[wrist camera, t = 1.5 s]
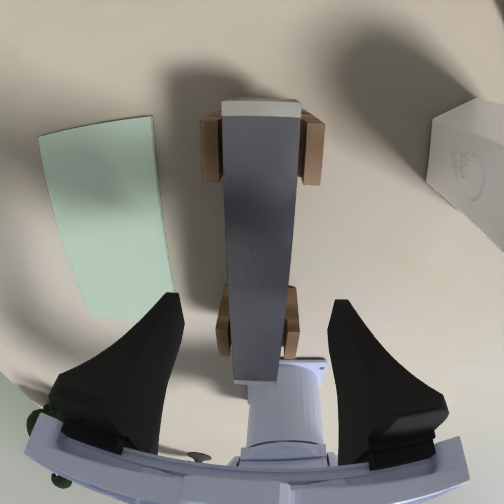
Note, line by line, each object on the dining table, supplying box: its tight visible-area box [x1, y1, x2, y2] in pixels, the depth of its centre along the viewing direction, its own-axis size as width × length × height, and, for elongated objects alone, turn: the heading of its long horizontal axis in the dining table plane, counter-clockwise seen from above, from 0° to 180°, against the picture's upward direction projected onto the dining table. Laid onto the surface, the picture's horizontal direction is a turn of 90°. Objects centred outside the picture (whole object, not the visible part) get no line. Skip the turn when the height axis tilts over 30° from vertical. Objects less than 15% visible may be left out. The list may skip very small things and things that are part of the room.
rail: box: [221, 98, 302, 386], centre depth 16 cm, size 18×3×3 cm, turn 0°
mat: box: [38, 116, 176, 323], centre depth 21 cm, size 18×10×1 cm, turn 0°
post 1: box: [200, 112, 325, 186], centre depth 15 cm, size 3×6×5 cm, turn 90°
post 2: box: [216, 285, 300, 359], centre depth 22 cm, size 3×6×5 cm, turn 90°
